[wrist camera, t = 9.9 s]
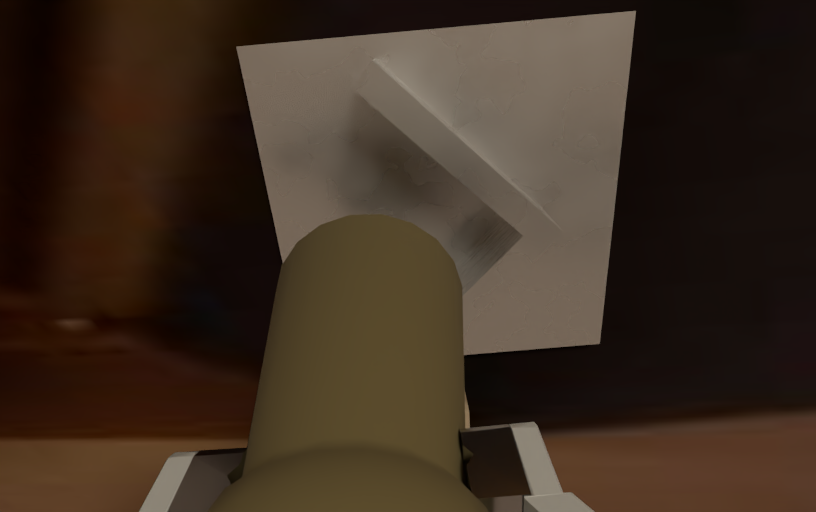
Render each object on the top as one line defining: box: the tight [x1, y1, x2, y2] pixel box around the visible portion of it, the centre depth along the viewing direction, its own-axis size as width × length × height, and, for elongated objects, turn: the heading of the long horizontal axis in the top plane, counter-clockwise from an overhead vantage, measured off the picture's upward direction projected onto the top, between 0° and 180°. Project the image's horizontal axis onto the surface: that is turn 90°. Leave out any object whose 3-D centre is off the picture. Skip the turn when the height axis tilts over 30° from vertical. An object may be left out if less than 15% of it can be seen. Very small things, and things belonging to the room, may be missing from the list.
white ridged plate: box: [237, 11, 636, 355], centre depth 21 cm, size 16×16×4 cm
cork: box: [207, 214, 488, 512], centre depth 10 cm, size 6×6×11 cm
